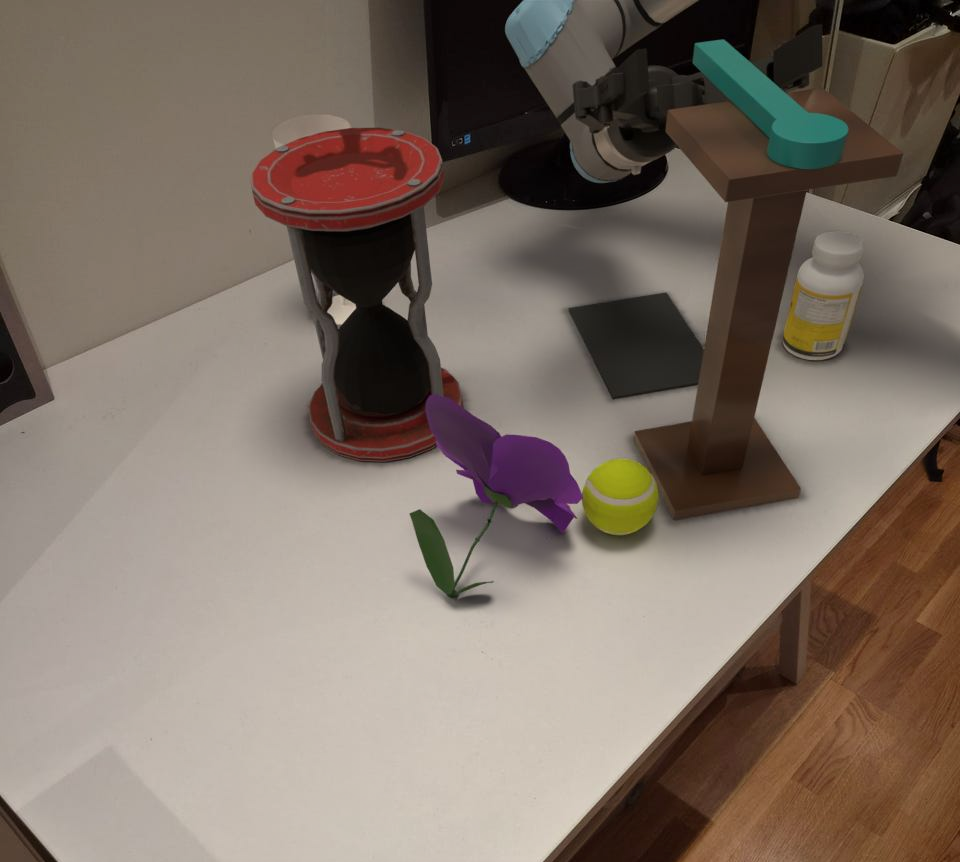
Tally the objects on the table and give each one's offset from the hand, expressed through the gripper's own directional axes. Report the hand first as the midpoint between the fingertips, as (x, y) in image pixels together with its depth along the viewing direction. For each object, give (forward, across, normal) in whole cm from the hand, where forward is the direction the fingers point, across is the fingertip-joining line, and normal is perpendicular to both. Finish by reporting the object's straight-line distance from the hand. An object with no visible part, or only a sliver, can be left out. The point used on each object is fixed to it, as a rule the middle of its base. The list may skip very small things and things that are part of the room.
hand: (731, 57), depth 64 cm
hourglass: (-22, +30, -24) cm, 44 cm away
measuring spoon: (+4, 0, -4) cm, 6 cm away
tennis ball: (-3, +11, -35) cm, 37 cm away
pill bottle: (-22, -18, -24) cm, 37 cm away
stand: (-8, 0, -32) cm, 33 cm away
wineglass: (-42, +32, -13) cm, 54 cm away
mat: (-27, 0, -21) cm, 34 cm away
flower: (-2, +23, -35) cm, 42 cm away
